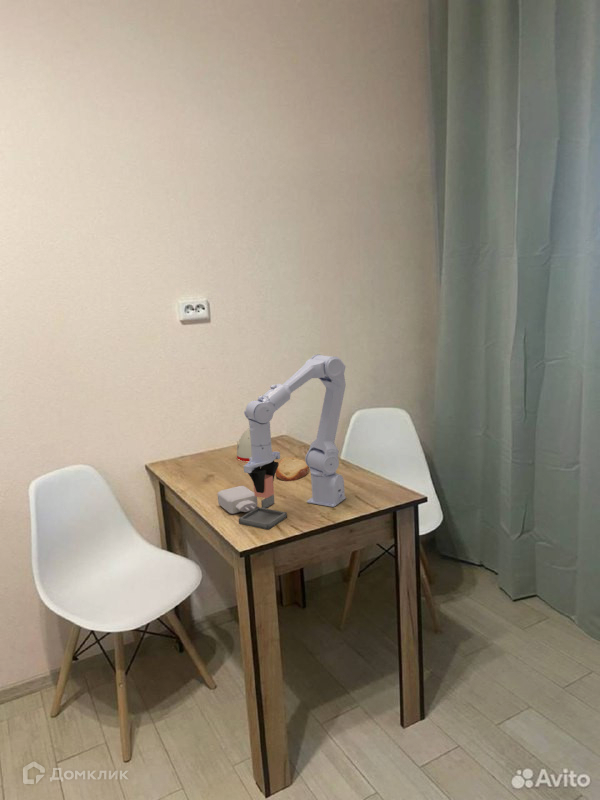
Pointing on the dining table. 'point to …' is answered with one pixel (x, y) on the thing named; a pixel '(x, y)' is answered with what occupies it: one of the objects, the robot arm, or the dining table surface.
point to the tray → (262, 518)
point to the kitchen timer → (244, 446)
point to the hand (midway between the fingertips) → (264, 489)
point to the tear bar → (267, 501)
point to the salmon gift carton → (266, 487)
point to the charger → (237, 499)
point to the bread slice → (291, 469)
